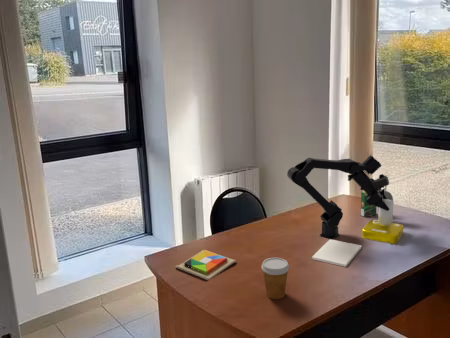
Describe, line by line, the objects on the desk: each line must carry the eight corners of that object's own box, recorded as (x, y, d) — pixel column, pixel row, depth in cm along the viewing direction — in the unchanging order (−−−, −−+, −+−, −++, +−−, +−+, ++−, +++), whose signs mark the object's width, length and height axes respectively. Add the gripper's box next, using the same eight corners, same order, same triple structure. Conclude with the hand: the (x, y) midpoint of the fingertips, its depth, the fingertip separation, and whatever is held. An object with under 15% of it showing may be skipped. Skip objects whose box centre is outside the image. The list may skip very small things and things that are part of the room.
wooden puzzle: (174, 269, 177) (173, 261, 177) (206, 252, 191) (205, 245, 190) (206, 282, 166) (205, 273, 166) (237, 263, 180) (237, 255, 179)
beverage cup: (375, 224, 213) (377, 184, 208) (376, 218, 219) (378, 180, 214) (391, 225, 210) (393, 185, 205) (392, 220, 217) (394, 181, 212)
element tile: (360, 238, 198) (360, 228, 197) (370, 227, 210) (371, 217, 209) (395, 245, 190) (395, 235, 189) (403, 233, 202) (404, 223, 201)
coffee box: (363, 217, 221) (364, 192, 218) (359, 215, 224) (360, 191, 221) (376, 215, 224) (377, 190, 221) (372, 213, 227) (373, 188, 224)
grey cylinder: (375, 222, 197) (376, 201, 195) (381, 219, 202) (382, 198, 199) (388, 226, 193) (389, 204, 191) (394, 222, 197) (396, 200, 195)
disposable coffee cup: (286, 286, 160) (286, 256, 157) (291, 301, 151) (291, 268, 148) (260, 288, 160) (259, 257, 157) (263, 302, 150) (262, 270, 147)
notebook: (311, 259, 180) (311, 256, 180) (329, 241, 196) (329, 239, 196) (345, 266, 172) (345, 264, 172) (361, 247, 188) (361, 245, 188)
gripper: (375, 175, 185) (402, 203, 183) (380, 165, 201) (405, 190, 199) (355, 192, 190) (381, 219, 188) (361, 180, 206) (385, 205, 205)
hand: (389, 207), depth 195 cm, fingers closed on grey cylinder, 6 cm apart
